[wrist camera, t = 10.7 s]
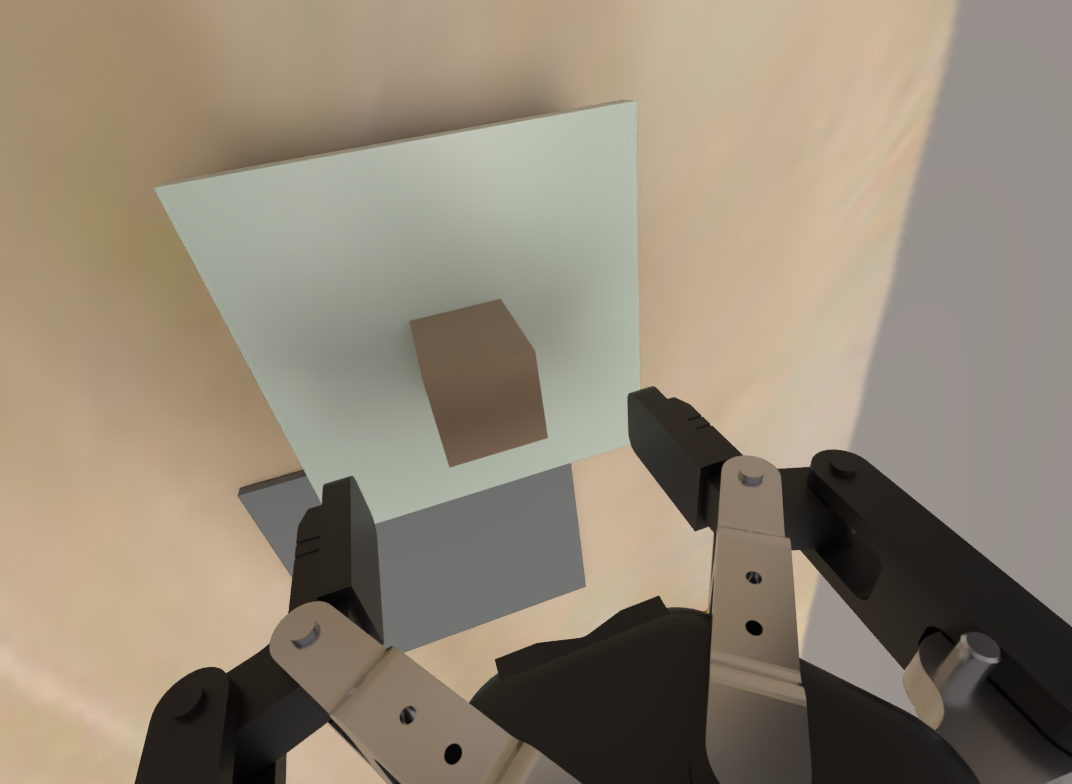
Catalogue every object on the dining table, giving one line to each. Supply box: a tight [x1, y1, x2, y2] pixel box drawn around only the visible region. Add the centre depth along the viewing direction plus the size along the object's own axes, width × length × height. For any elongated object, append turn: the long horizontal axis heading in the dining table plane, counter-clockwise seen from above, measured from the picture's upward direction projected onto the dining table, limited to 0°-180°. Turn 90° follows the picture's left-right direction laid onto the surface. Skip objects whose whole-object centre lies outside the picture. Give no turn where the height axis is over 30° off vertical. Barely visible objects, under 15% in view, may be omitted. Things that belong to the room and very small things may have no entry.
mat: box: [238, 463, 586, 653], centre depth 34 cm, size 19×19×1 cm
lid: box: [154, 100, 640, 524], centre depth 18 cm, size 15×15×6 cm
